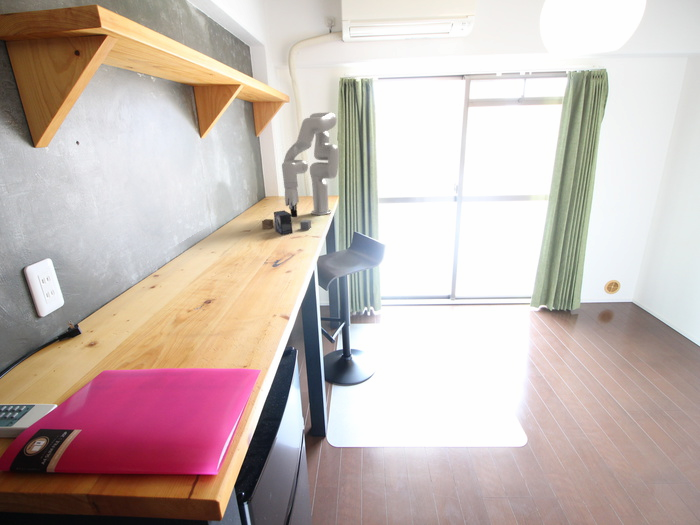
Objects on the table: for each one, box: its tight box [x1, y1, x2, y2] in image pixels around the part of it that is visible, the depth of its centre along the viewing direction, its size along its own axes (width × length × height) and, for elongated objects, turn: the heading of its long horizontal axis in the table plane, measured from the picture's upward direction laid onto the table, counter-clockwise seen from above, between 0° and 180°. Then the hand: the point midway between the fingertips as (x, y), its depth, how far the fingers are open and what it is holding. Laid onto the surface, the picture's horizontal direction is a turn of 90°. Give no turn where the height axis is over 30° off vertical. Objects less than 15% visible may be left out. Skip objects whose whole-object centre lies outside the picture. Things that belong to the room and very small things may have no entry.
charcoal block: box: [299, 219, 312, 231], centre depth 200 cm, size 4×4×4 cm
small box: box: [273, 209, 294, 236], centre depth 195 cm, size 11×6×10 cm, turn 29°
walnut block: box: [261, 218, 274, 230], centre depth 204 cm, size 4×4×4 cm
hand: (294, 216), depth 213 cm, fingers closed
